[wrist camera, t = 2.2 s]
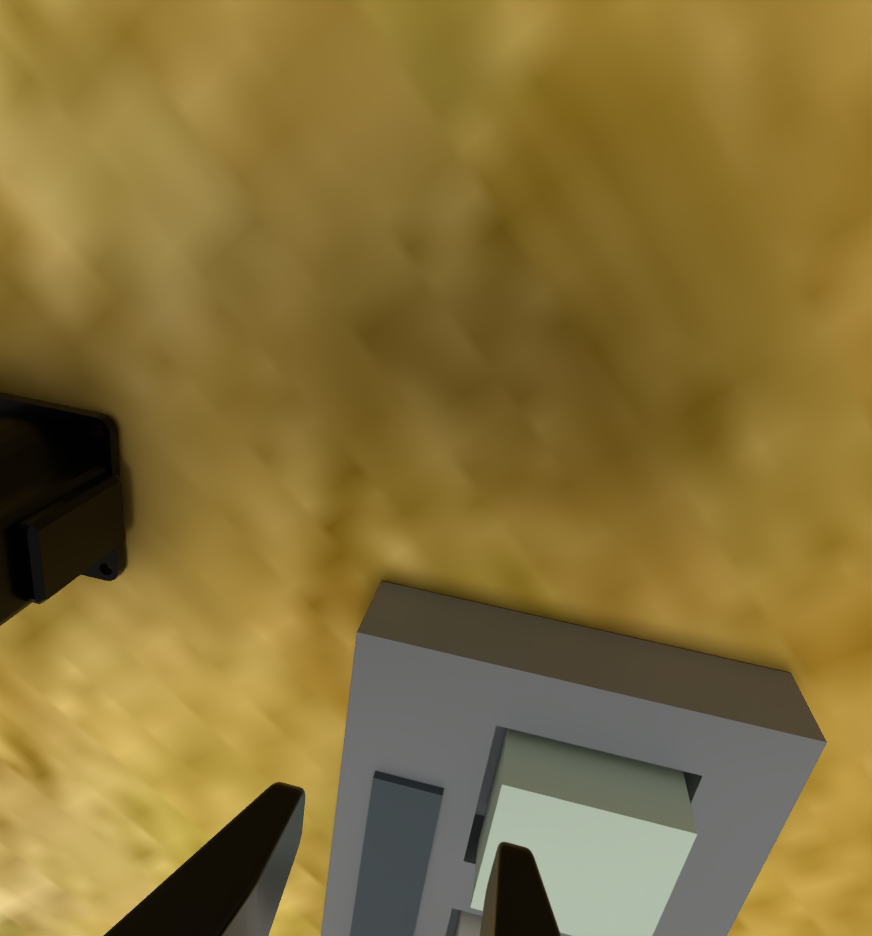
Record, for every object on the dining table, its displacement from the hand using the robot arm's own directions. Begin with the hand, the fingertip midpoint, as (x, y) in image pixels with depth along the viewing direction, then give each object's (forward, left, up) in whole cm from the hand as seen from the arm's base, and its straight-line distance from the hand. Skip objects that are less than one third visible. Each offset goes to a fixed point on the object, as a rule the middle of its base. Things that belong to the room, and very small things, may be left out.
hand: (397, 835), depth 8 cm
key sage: (+5, -10, -11) cm, 16 cm away
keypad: (+4, -20, -13) cm, 24 cm away
